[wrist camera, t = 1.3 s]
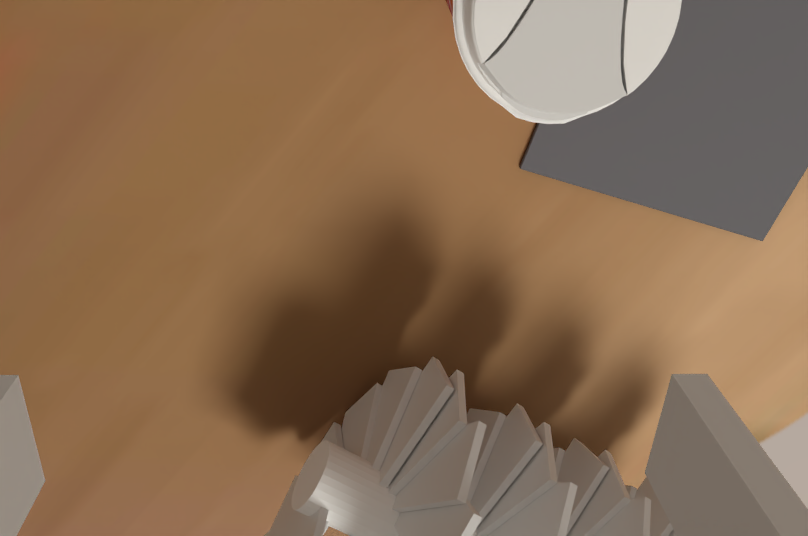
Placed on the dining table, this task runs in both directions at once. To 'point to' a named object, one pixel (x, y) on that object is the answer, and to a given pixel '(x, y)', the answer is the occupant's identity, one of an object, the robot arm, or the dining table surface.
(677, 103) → the mat
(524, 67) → the paper cup
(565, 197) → the dining table surface
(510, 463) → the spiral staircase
